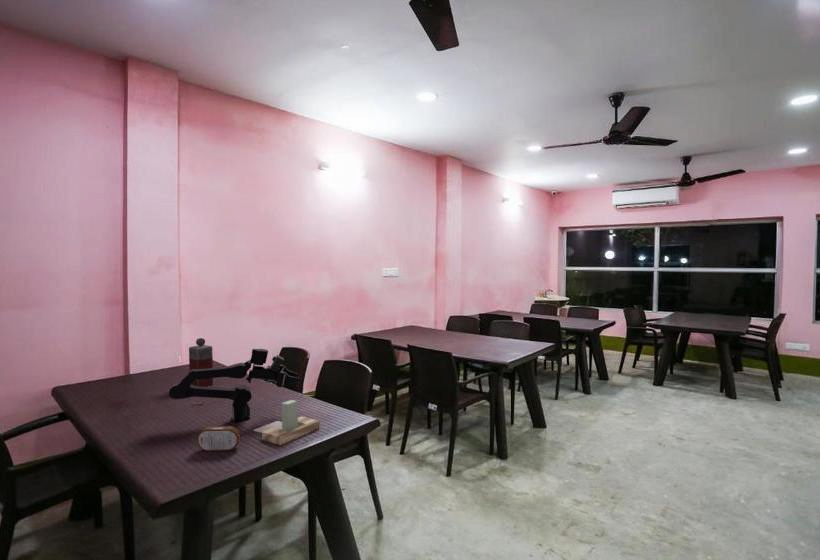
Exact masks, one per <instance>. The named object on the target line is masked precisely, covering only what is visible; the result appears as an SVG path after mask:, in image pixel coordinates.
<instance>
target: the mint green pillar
mask: <svg viewBox="0 0 820 560" xmlns="http://www.w3.org/2000/svg"><path fill="white" fill-rule="evenodd" d="M298 403H299V402H298V400H295V399H290V400H287V401H284V402H281V422H282V430H284V431H287V432H288V431H291V430H293V429H295V428H298V418H299V415H298V412H299V411H298V410H299V409H298V408H299V407H298Z"/></svg>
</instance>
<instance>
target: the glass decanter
mask: <svg viewBox="0 0 820 560" xmlns="http://www.w3.org/2000/svg"><path fill="white" fill-rule="evenodd" d="M205 343H206V340H205V338H204V337H203V338H202V337H198V338H197V339H196V340H195V344H196V345H193V346H189V348H188V361H189V363H188V365H189V367H188V368H189V369H188V370H189V371H188V373H189V372H190V371H191V370H193V369H209V368H214V364H213V363H214V362H213V361H214V359H213V358H214V357H213V346H212V345H207V344H205ZM191 385H194V386H199V387H208V386H212V385H213V386H214V378H207V379H197V380H194V381H193V382H192V384H191Z"/></svg>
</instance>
